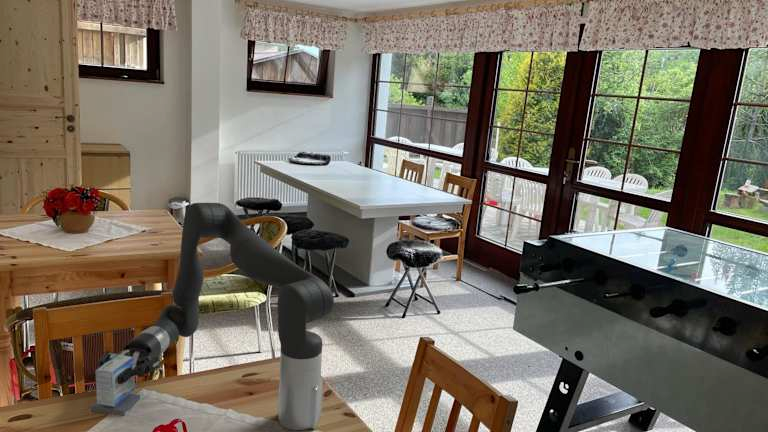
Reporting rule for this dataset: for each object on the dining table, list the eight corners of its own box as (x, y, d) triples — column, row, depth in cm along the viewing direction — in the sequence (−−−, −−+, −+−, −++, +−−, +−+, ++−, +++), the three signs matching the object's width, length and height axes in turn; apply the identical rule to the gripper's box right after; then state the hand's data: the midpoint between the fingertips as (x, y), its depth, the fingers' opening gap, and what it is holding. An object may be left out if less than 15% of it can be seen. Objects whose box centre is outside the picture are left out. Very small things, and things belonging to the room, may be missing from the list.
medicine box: (114, 407, 133) (112, 372, 131) (96, 404, 134) (94, 369, 132) (135, 390, 140) (134, 356, 138) (118, 387, 141) (117, 353, 139)
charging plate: (140, 399, 140) (140, 394, 140) (124, 415, 133) (123, 410, 133) (108, 395, 141) (108, 390, 141) (90, 410, 134) (90, 405, 134)
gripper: (120, 328, 149) (77, 359, 133) (174, 335, 148) (137, 367, 131) (121, 356, 151) (79, 390, 135) (175, 363, 149) (138, 398, 133)
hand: (108, 378), depth 133 cm, fingers closed on medicine box, 4 cm apart
